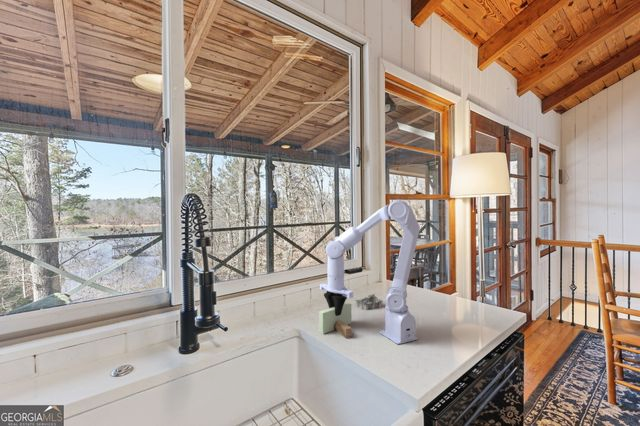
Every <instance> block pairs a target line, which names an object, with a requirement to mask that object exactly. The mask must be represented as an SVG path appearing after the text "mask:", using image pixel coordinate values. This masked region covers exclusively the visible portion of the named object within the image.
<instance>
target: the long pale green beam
mask: <svg viewBox="0 0 640 426" xmlns="http://www.w3.org/2000/svg"><path fill="white" fill-rule="evenodd" d="M340 320H341V321H342V322H344V323H345V324H347V325H348V326H349V325H350V324H352V303H349V302H345V303H344V305H343V308H342V312H341V315H339V316H336V315H335V307H332V308H329V307H328V308H326V309H323V310H319V311H318V333H320V334H322V335H325V334H327V333H329V332H332V331H334V330H335V329H334V324H336V321H340Z"/></svg>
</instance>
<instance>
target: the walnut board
mask: <svg viewBox="0 0 640 426" xmlns="http://www.w3.org/2000/svg"><path fill="white" fill-rule="evenodd" d="M334 330H335V331H336V332H337V333H338V334H340V335H341V336H343V337H344V338H345V339H351V338H352V337H353V336H352V335H353V334H352V333H353V332H352V331H353V329H352V327H351V326H349V324H348V325H347V324H345V323H344V322H342V321H341V320H340V321H336V324H334Z"/></svg>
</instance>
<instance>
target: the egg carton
mask: <svg viewBox="0 0 640 426" xmlns="http://www.w3.org/2000/svg"><path fill="white" fill-rule="evenodd" d="M354 302H355V306H356V308H359V309H360V310H361V311H362V310H364V311H367V310H369V309H372V310H374V309H376V308H379V309H381V308H382V306H383V303H382V302H384V301H383V300H382V299H380V298H378V296H376V295H375V294H374V293H373V294H369V295H368V296H366V297H364V298H360V299H354Z"/></svg>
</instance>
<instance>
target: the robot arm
mask: <svg viewBox="0 0 640 426" xmlns="http://www.w3.org/2000/svg"><path fill="white" fill-rule="evenodd" d="M390 220H393V221H395V222H396V223H397V224H399V226H400V227H401V229H402V230H403V236H402V240H401V244H400V249H399V254H398V258H397V262H396V266H395V270H394V276H393V279H392V284H391V286H390V287H389V288H388V290H387V294H386V296H385V307H384V308H385V309H384V315H385V316H384V318H385V320H384V324H385V325H384V329H382V330H380V331H379V334H381V335H383V336H384V337H386V338H387V339H388V340H390V341H392V342H393V343H395V344H397V345H400V344H404V343H408V342H412V341H416V340H418V337H416V318H415V316H414V315H413V314H411V313H410V311H409V306H408V305H407V297H408V292H407V287H408V282H409V278H410V274H411V273H410V272H411V269H412V264H413V259H414V255H415V252H416V247H417V242H418V239H419V236H420V235H419V234H420V230H421V229H420V228H421V227H420V225H419V221H418V220H417V218H416V216H415V213H414V211H413V208H412V207H411V206H410V205H409V204H408V203H407V202H406V201H403V200H401V199H395V200H392V201H391V202H390V203H389V204H386V205H384V206H383V207H381V208H379V209H378V210H377V211H375V212H374V213H373V214H371V215H370V216H369V217H368V218H366V219H365V220H364V221H363V222H361V224H359V225H358V226H351V227H346V228H344V230H345V231H344V232H343V233H341V234H339V236H334V240H331V241H329V242H328V243H327V244H326V247H325V253H326V256H327V264H326V265H327V266H326V267H327V270H326V271H327V277H326V278H327V283H324V282H323V283H320V284H319V290H321V291H326V292H324V293H323V297H324V298H325V300H326V303H327V306H328V309H329V308H332V307H335V315H336V316H339V315H341V312H342V308H343V305H344V304H345V303H346V301H347V300H348V299H353V298H354V291H353V290H350V289H348V288H346V286H345V262H344V261H345V260H344V256H345V255H344V254H345V253H346V251H350V249H352V248H354V247H355V246H356V245H357V244H359V243H360V242H361V241H362V240H363V235H364V234H365V233H367V232H368V231H369V230H372V228H374V227H375V226H377V225H378V224H379V223H381V222H383V221H390Z"/></svg>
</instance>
